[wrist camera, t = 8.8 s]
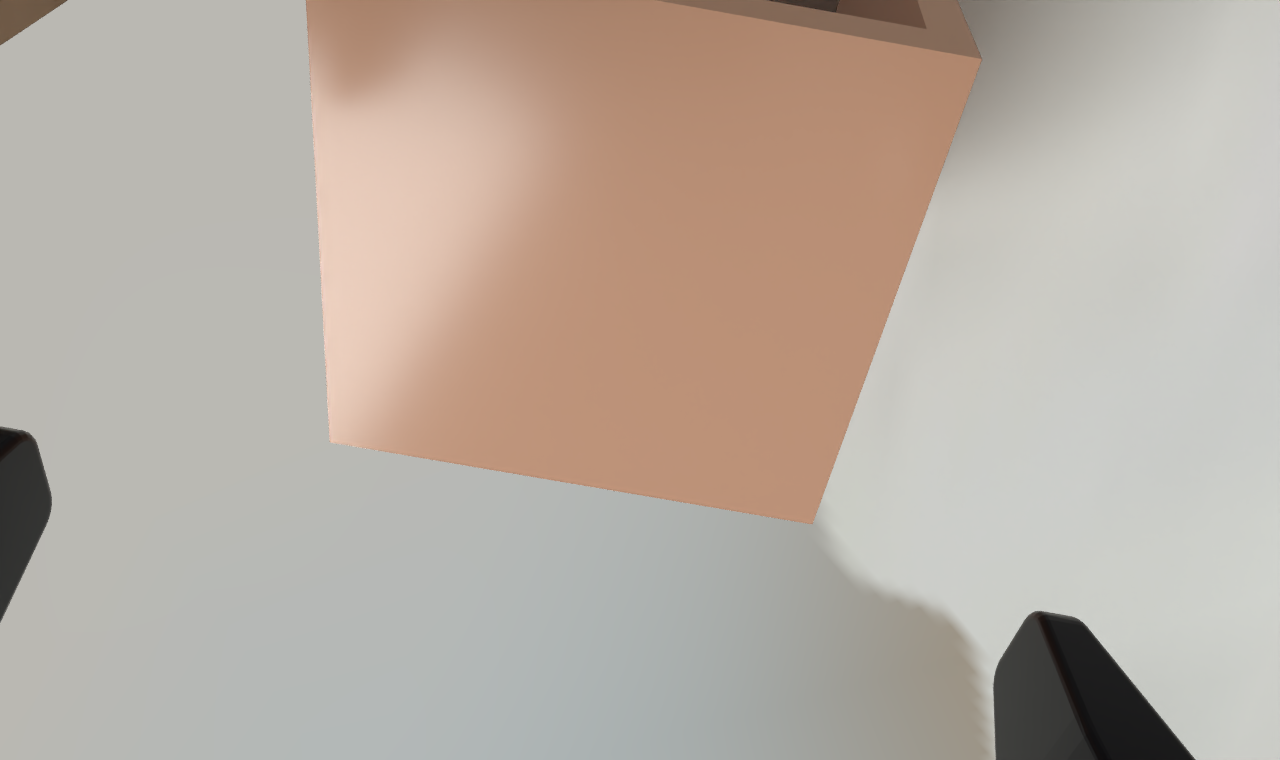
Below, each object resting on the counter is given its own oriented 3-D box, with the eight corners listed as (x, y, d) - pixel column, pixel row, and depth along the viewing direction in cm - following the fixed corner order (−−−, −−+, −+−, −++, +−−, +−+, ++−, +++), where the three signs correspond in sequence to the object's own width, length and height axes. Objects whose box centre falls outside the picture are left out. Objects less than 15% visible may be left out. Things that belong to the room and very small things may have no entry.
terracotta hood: (450, 189, 21) (329, 442, 15) (465, -205, 16) (302, -64, 11) (798, 249, 21) (812, 524, 15) (904, -125, 17) (982, 58, 11)
